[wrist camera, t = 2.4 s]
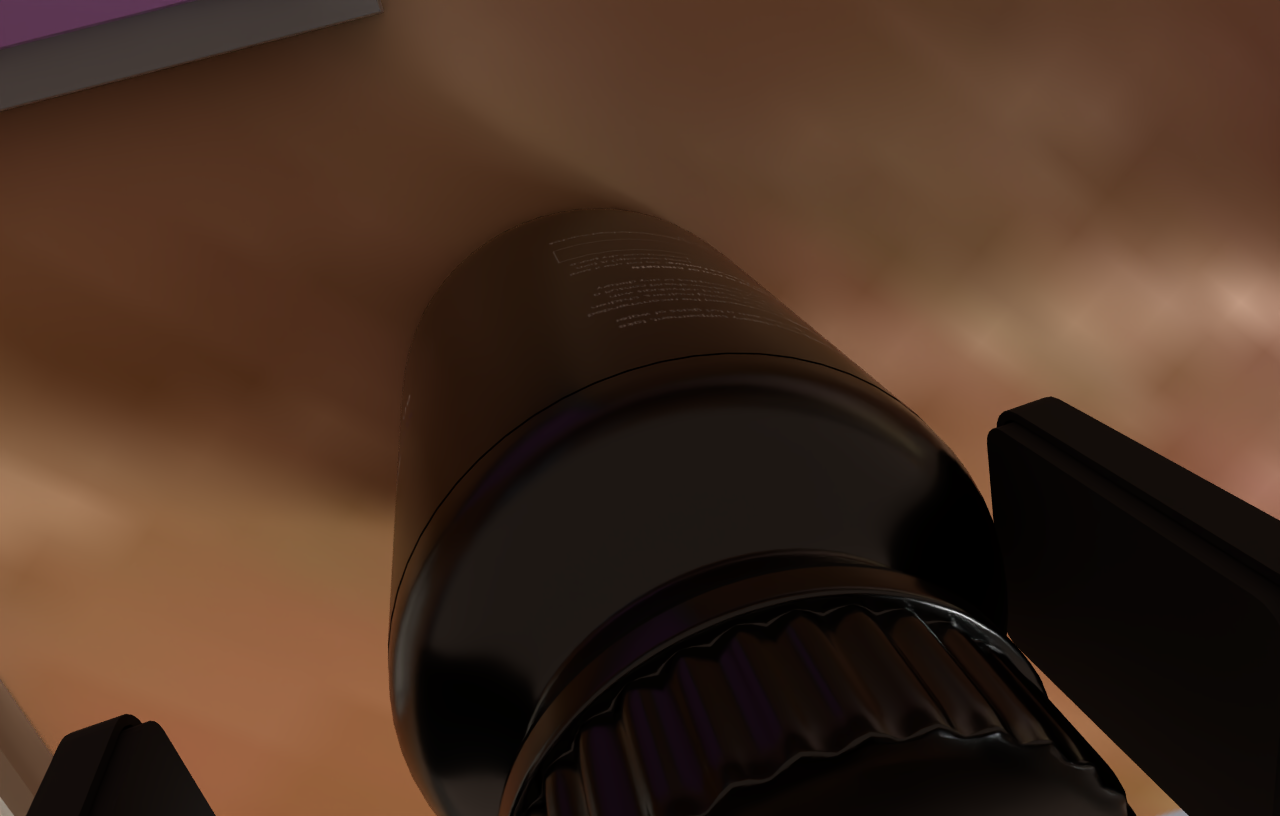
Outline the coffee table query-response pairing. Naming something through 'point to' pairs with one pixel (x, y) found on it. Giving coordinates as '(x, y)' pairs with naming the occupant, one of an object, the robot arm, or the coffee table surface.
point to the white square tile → (19, 758)
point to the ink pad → (140, 37)
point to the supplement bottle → (692, 559)
